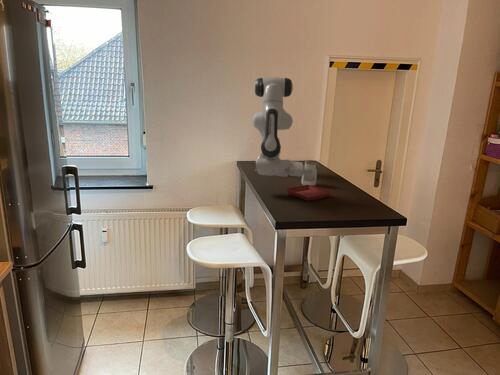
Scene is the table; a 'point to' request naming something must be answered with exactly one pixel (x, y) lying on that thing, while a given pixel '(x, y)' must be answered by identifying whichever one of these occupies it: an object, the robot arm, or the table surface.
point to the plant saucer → (308, 192)
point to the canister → (312, 166)
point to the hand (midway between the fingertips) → (311, 170)
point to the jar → (309, 181)
